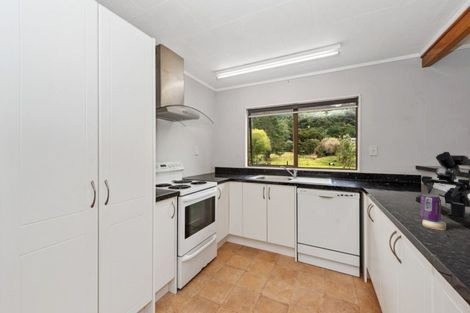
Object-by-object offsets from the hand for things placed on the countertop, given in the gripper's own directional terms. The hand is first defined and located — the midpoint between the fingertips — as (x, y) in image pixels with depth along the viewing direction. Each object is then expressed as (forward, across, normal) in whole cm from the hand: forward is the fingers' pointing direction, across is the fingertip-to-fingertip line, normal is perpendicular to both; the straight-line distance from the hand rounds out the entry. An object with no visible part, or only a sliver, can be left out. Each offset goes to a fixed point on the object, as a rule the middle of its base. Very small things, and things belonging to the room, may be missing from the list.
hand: (439, 194), depth 105 cm
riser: (+21, +4, -2) cm, 21 cm away
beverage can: (+19, +2, -4) cm, 19 cm away
